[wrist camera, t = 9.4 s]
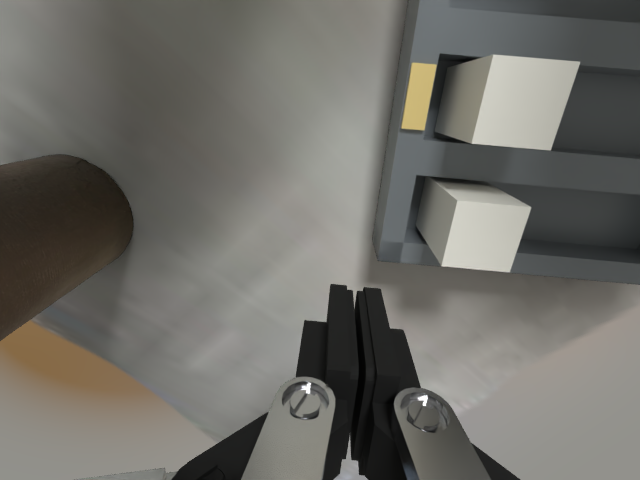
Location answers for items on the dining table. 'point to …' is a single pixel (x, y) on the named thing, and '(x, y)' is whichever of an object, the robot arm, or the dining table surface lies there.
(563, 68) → the tab middle
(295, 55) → the dining table surface
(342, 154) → the dining table surface
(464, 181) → the tab
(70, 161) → the pillar candle
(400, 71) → the switch bank
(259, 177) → the dining table surface
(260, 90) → the dining table surface
